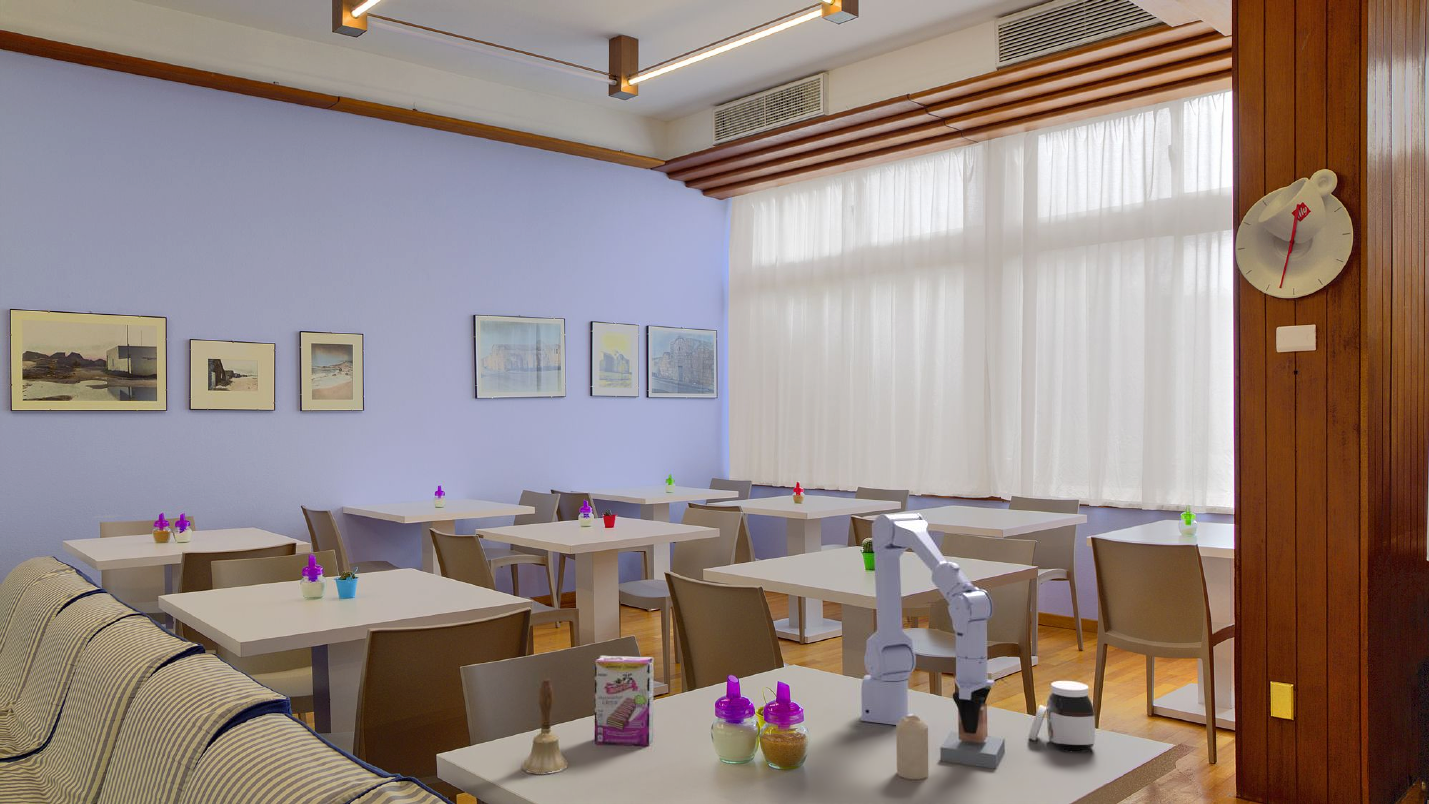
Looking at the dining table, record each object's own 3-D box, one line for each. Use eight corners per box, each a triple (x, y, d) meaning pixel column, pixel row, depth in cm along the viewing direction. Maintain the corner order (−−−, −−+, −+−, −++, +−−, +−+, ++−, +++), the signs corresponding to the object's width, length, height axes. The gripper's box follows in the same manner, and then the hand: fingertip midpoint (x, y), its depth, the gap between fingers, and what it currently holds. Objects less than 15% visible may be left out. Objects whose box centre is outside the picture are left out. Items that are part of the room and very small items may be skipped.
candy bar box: (593, 745, 184) (593, 660, 185) (599, 737, 189) (599, 654, 190) (650, 746, 183) (649, 661, 184) (654, 738, 188) (654, 655, 189)
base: (940, 760, 174) (940, 747, 174) (951, 744, 183) (951, 731, 183) (996, 768, 170) (995, 754, 170) (1004, 751, 179) (1004, 738, 179)
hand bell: (576, 762, 175) (576, 675, 176) (553, 777, 167) (553, 686, 168) (537, 757, 178) (537, 671, 178) (513, 771, 170) (513, 682, 171)
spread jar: (1101, 755, 177) (1099, 692, 178) (1040, 755, 177) (1039, 692, 178) (1077, 734, 189) (1076, 676, 190) (1021, 734, 189) (1020, 676, 190)
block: (958, 739, 176) (958, 707, 176) (963, 732, 180) (962, 700, 180) (983, 742, 174) (982, 709, 174) (987, 735, 178) (986, 703, 178)
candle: (928, 781, 164) (928, 723, 165) (896, 778, 165) (896, 721, 166) (928, 770, 170) (927, 713, 170) (897, 768, 171) (896, 712, 171)
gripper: (986, 666, 169) (987, 743, 169) (999, 649, 182) (1000, 720, 182) (947, 662, 172) (948, 737, 172) (962, 646, 185) (963, 716, 185)
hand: (972, 728), depth 177 cm, fingers closed on block, 4 cm apart
